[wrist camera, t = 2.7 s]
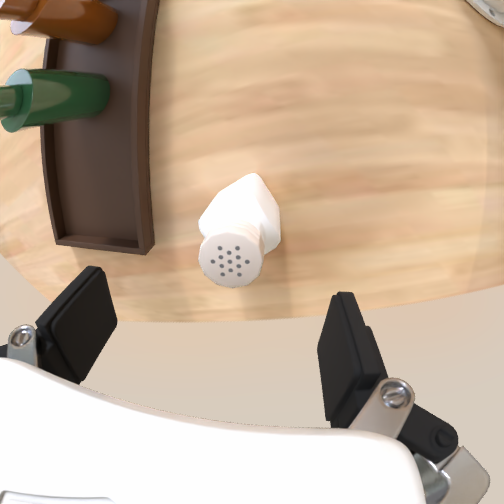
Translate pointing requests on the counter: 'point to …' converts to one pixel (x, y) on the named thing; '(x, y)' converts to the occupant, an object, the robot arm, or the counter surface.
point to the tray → (105, 141)
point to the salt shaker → (239, 232)
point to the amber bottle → (61, 19)
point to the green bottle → (51, 97)
